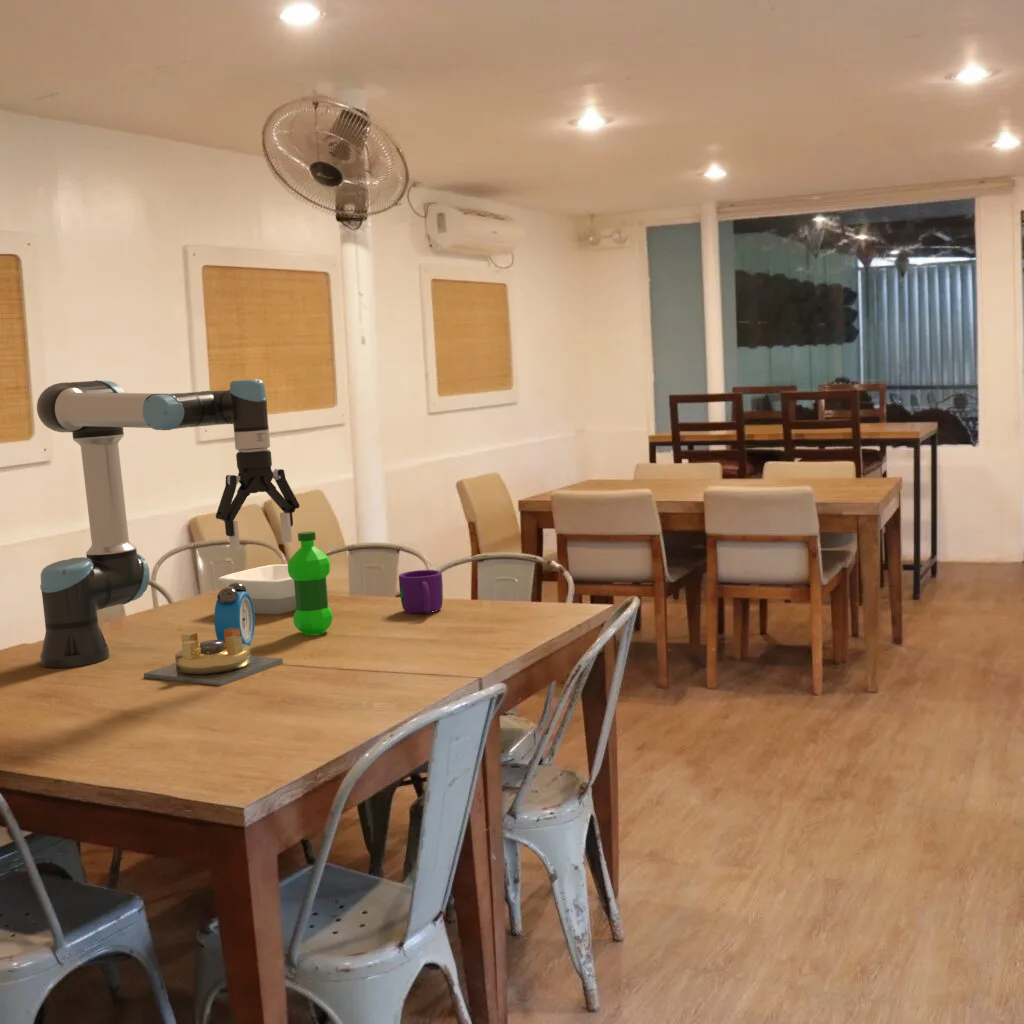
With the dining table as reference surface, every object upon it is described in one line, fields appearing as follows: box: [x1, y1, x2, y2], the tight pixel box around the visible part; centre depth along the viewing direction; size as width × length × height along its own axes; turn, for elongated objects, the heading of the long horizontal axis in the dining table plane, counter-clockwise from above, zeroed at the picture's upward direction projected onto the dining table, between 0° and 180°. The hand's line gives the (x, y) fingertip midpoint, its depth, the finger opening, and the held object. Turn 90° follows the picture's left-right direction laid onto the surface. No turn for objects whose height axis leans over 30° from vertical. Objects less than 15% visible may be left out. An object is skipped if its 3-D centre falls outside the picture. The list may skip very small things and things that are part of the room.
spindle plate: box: [143, 655, 284, 687], centre depth 269 cm, size 22×20×1 cm
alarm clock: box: [213, 582, 256, 647], centre depth 290 cm, size 13×6×15 cm, turn 176°
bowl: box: [218, 563, 331, 615], centre depth 336 cm, size 24×25×10 cm
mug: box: [398, 569, 444, 615], centre depth 319 cm, size 17×11×10 cm, turn 12°
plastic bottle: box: [287, 531, 334, 636], centre depth 300 cm, size 10×10×25 cm
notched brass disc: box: [174, 628, 252, 674], centre depth 268 cm, size 16×16×6 cm
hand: (261, 546), depth 270 cm, fingers open, 13 cm apart
